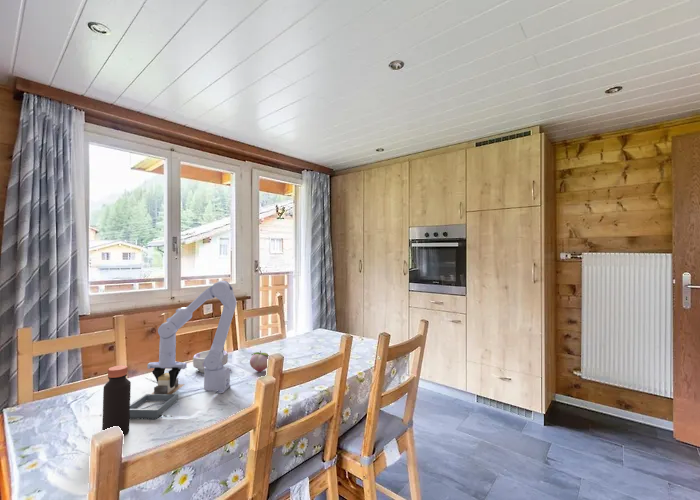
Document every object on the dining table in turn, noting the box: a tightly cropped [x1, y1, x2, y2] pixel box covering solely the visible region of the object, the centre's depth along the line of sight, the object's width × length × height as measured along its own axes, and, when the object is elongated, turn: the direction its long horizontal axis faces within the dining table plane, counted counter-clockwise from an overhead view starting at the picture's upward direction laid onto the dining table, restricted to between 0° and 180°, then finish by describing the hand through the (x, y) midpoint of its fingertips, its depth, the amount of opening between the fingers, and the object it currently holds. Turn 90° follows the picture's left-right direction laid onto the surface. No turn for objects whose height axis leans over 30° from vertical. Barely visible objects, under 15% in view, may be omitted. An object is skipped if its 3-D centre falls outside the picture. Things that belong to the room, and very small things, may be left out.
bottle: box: [101, 364, 132, 437], centre depth 100 cm, size 7×7×20 cm
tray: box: [130, 393, 179, 420], centre depth 116 cm, size 12×13×3 cm
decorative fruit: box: [249, 350, 270, 373], centre depth 157 cm, size 9×8×10 cm
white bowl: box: [192, 349, 229, 374], centre depth 158 cm, size 15×15×8 cm
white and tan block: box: [157, 372, 175, 393], centre depth 131 cm, size 4×5×6 cm
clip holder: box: [151, 377, 185, 394], centre depth 131 cm, size 8×13×4 cm, turn 0°
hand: (166, 386), depth 131 cm, fingers closed on white and tan block, 4 cm apart
